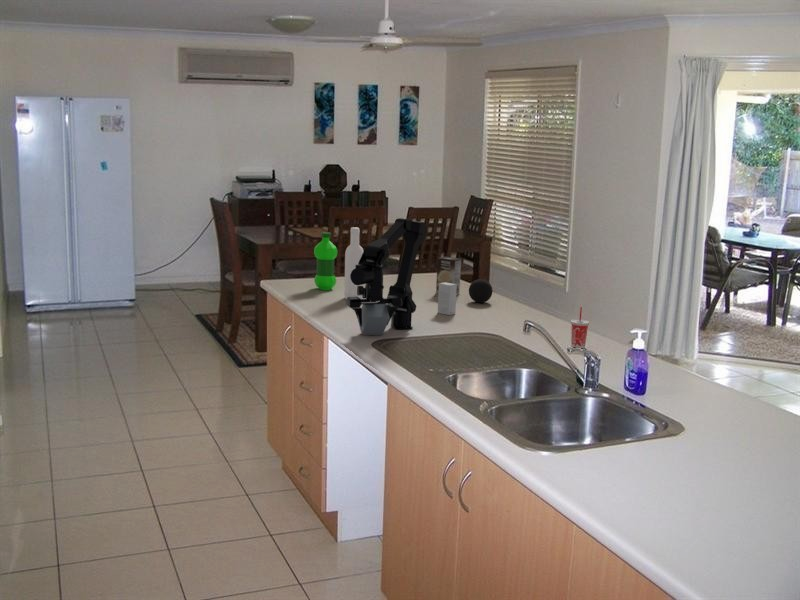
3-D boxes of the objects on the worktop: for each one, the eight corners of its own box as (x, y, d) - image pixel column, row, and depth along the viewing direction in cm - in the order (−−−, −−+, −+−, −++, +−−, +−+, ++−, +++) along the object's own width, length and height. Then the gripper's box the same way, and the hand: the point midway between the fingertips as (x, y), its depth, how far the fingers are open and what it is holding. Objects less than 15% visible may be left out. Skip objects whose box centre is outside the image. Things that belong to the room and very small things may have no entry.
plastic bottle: (316, 286, 385) (316, 231, 380) (339, 287, 383) (340, 232, 378) (310, 290, 375) (311, 233, 370) (334, 291, 373) (335, 234, 368)
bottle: (366, 299, 359) (368, 228, 353) (350, 301, 354) (351, 229, 348) (356, 296, 365) (358, 226, 359) (340, 297, 361) (342, 227, 355)
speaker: (486, 299, 367) (487, 276, 365) (495, 304, 357) (497, 281, 355) (464, 300, 363) (465, 277, 361) (473, 305, 354) (474, 281, 352)
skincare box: (455, 314, 336) (457, 284, 334) (448, 315, 333) (450, 285, 331) (444, 311, 340) (445, 281, 338) (437, 312, 337) (438, 283, 335)
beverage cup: (565, 345, 292) (568, 305, 290) (580, 344, 295) (583, 304, 292) (575, 349, 287) (578, 309, 284) (590, 348, 289) (594, 308, 286)
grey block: (377, 319, 303) (385, 302, 298) (382, 335, 298) (389, 317, 293) (357, 318, 301) (364, 300, 295) (361, 334, 295) (368, 316, 290)
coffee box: (435, 293, 377) (436, 257, 373) (442, 291, 382) (443, 256, 379) (453, 296, 372) (454, 260, 369) (460, 294, 377) (461, 258, 374)
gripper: (393, 277, 303) (392, 319, 306) (342, 278, 297) (341, 321, 300) (403, 282, 292) (401, 326, 295) (350, 283, 287) (349, 329, 290)
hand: (373, 325), depth 295 cm, fingers open, 9 cm apart
